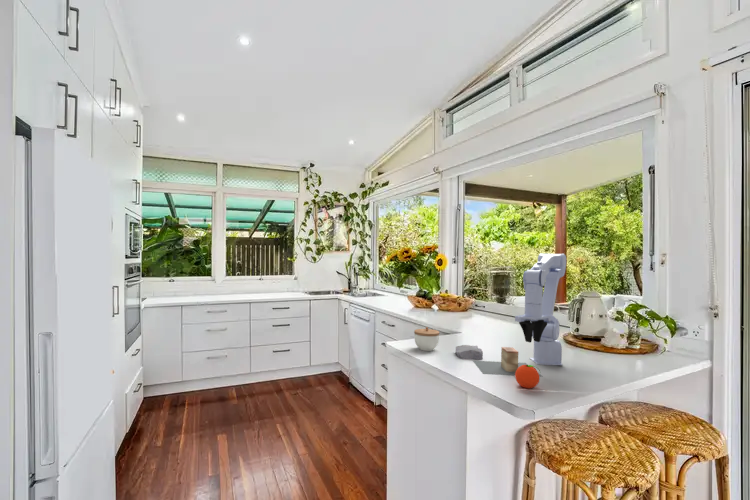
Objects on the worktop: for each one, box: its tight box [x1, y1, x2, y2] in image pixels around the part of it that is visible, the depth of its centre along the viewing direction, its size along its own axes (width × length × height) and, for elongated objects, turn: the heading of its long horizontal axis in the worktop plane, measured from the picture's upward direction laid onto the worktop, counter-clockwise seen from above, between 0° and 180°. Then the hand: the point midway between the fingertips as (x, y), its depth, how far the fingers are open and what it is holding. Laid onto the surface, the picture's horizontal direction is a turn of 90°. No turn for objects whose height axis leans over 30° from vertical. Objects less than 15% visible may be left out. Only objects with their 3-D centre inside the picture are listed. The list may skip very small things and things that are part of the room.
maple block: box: [500, 346, 519, 372], centre depth 131 cm, size 4×6×7 cm, turn 178°
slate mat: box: [472, 360, 544, 378], centre depth 132 cm, size 20×16×1 cm
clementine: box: [514, 364, 541, 389], centre depth 113 cm, size 8×7×7 cm
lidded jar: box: [413, 326, 440, 352], centre depth 157 cm, size 11×11×9 cm
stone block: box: [455, 344, 484, 360], centre depth 148 cm, size 12×5×10 cm
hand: (532, 341), depth 130 cm, fingers open, 3 cm apart
